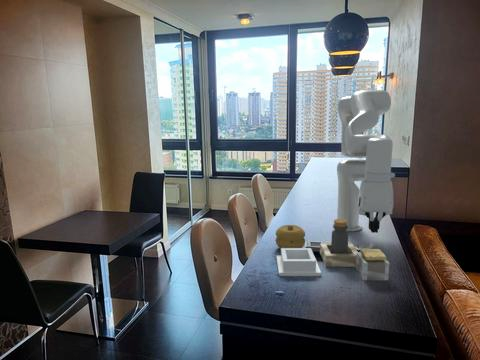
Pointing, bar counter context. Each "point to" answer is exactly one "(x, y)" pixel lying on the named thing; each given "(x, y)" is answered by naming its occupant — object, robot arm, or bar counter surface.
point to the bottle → (339, 237)
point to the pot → (290, 237)
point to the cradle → (297, 262)
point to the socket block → (355, 262)
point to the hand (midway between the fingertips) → (373, 231)
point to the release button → (373, 255)
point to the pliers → (365, 246)
